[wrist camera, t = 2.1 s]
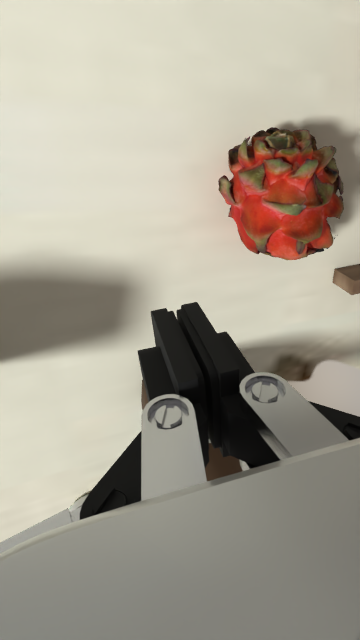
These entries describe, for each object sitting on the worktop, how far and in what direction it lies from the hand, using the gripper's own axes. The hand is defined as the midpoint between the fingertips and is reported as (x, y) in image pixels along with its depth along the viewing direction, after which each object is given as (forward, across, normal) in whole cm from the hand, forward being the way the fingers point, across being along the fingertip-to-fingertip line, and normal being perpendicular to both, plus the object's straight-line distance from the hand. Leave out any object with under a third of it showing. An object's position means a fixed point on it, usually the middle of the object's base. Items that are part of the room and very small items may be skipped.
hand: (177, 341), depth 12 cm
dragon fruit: (+18, -12, 0) cm, 22 cm away
